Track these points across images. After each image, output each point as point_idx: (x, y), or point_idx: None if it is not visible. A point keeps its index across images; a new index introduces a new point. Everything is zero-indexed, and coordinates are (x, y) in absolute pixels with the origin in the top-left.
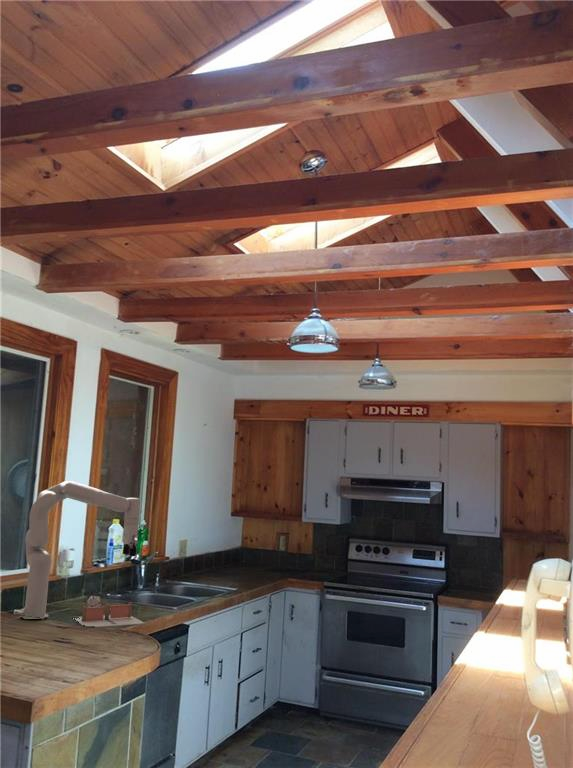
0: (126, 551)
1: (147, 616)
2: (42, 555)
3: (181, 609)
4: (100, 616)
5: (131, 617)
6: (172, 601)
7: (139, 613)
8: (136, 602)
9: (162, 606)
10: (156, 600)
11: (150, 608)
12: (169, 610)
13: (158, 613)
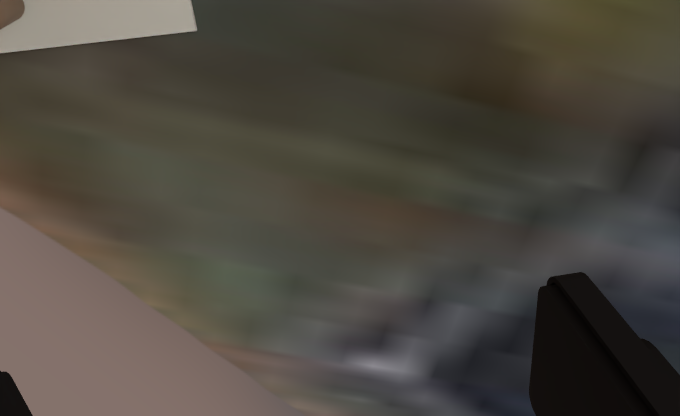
0: (566, 403)
1: (111, 161)
2: None
3: (325, 384)
4: None
5: (27, 26)
6: None
7: (236, 132)
8: (643, 200)
9: (448, 314)
10: (646, 319)
11: (405, 239)
12: (308, 325)
13: (218, 249)
